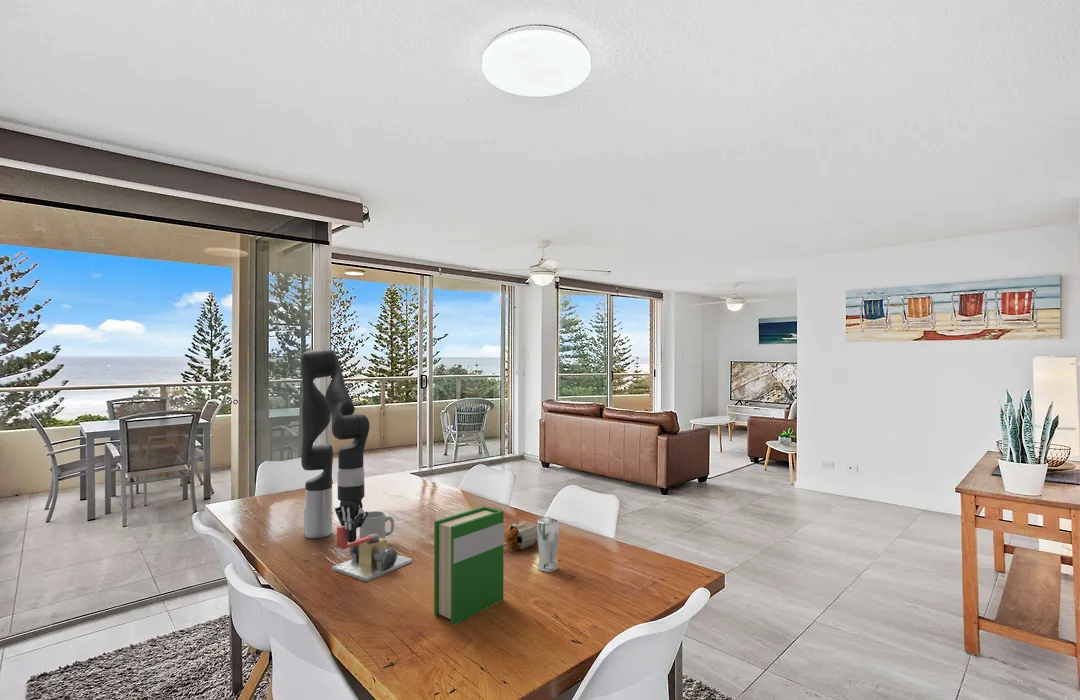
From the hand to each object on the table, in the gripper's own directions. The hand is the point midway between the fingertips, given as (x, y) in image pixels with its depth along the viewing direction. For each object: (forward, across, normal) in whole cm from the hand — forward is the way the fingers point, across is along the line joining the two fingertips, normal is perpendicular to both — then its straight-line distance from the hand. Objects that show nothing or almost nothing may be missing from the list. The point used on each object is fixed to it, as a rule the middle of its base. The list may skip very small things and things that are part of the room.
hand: (351, 541), depth 155 cm
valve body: (+11, -4, +11) cm, 16 cm away
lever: (+3, -4, +5) cm, 7 cm away
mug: (+11, -18, +24) cm, 32 cm away
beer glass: (+12, +43, +40) cm, 60 cm away
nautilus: (+12, +24, +49) cm, 56 cm away
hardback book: (+12, +40, +7) cm, 42 cm away
